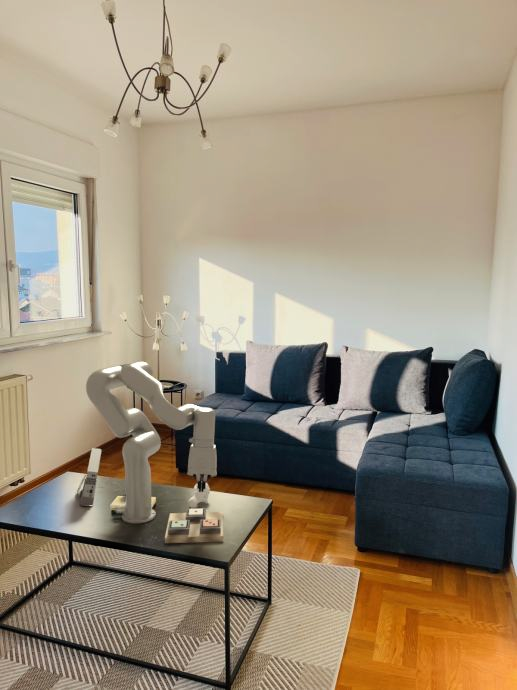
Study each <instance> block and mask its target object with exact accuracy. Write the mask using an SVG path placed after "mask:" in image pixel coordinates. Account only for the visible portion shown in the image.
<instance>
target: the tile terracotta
mask: <svg viewBox="0 0 517 690" xmlns="http://www.w3.org/2000/svg"><path fill="white" fill-rule="evenodd" d="M211 527H218V519H213V520H203V528H211Z"/></svg>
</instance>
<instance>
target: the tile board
mask: <svg viewBox="0 0 517 690" xmlns="http://www.w3.org/2000/svg"><path fill="white" fill-rule="evenodd" d="M189 509H190V508H186V512H176V513H175V512H173V513H171V512H170V513H169V517H168V521H167V526H166V531H165V535H164V544H177V543H179V544H182V543H185V544H186V543H187V544H188V543H205V542H206V543H215V542H216V543H217V542H218V543H219V542H224V513H223V511H207V509H206V507H203V516H189ZM196 509H202V508H198V507H196ZM213 519H218V527H211V528H203V520H213ZM178 520H187V528H176V529H171V525H172V521H178Z"/></svg>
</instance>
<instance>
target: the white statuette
mask: <svg viewBox="0 0 517 690" xmlns="http://www.w3.org/2000/svg"><path fill="white" fill-rule="evenodd" d="M201 487H202V485H201ZM210 492H211V488H210V485H209V484H208V482H206V488H205V489H204V490H203V492H199V489H197V483H196V484H195V485H194V486H193V489H192V493H191V494H190V498H189V499H188V500H187V501H188V502H187V505H188V507H190V509H197V508H198V507H200V506H199V503H202V502H204V504H208V501H209V500H208V499H209V495H210Z"/></svg>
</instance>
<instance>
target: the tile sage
mask: <svg viewBox="0 0 517 690" xmlns="http://www.w3.org/2000/svg"><path fill="white" fill-rule="evenodd" d="M176 528H187V520H178V521H172V525H171V529H176Z"/></svg>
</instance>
